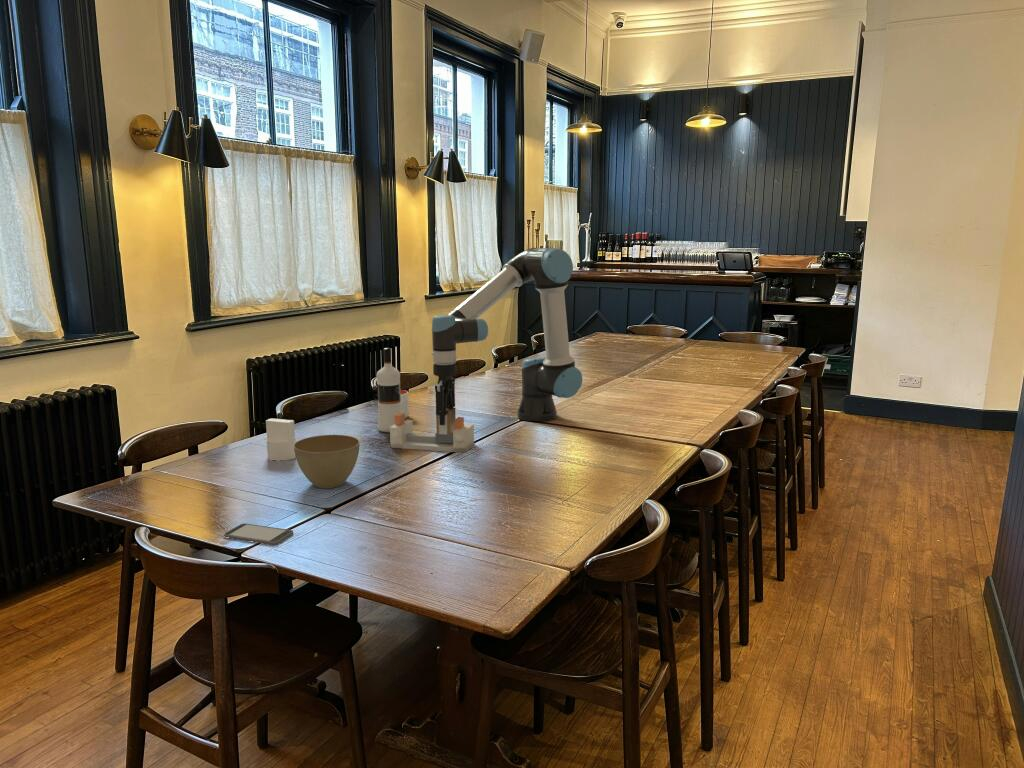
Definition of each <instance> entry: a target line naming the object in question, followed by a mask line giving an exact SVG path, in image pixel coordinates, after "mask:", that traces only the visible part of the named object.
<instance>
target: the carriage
mask: <svg viewBox="0 0 1024 768" xmlns="http://www.w3.org/2000/svg"><path fill="white" fill-rule="evenodd" d="M455 408H456V407H446V415H447V425H448V434H447V435H445V434H439V415H436V414H435V423H436V424H435V425H436V433H435V434H434V435H435V440H436V442H440V443H453V431H454V430H455V419H457V417H456V409H455Z"/></svg>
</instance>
